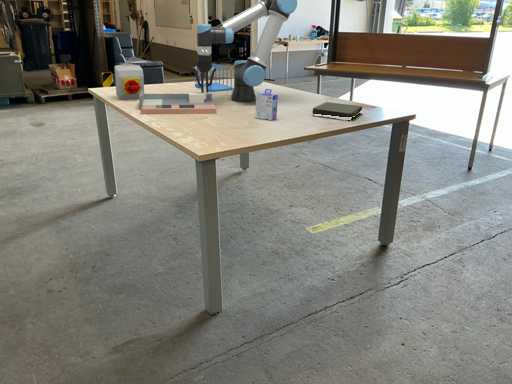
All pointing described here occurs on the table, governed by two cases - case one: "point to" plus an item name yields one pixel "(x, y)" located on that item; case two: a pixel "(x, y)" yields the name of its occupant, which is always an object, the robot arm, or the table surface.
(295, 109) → the table surface
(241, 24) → the robot arm
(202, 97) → the block
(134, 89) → the electrical switch box
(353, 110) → the network switch
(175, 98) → the trap box
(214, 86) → the file sorter
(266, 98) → the ink cartridge box
